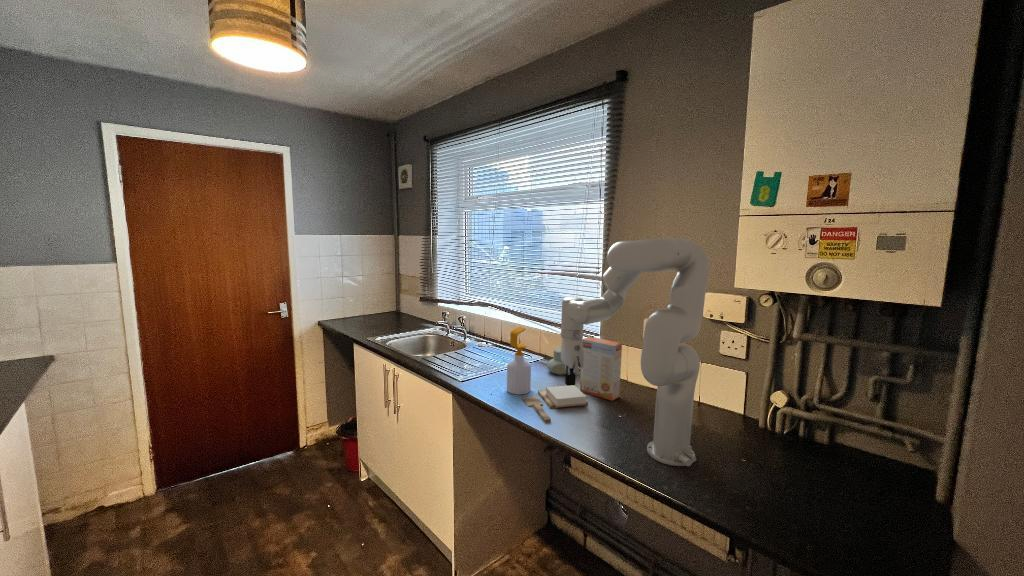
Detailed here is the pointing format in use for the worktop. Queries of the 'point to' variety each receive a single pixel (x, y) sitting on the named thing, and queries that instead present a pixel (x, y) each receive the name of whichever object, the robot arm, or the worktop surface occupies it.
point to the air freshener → (556, 363)
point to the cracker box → (601, 368)
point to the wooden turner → (537, 407)
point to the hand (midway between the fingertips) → (570, 384)
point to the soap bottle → (518, 368)
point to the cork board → (547, 400)
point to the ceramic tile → (565, 396)
